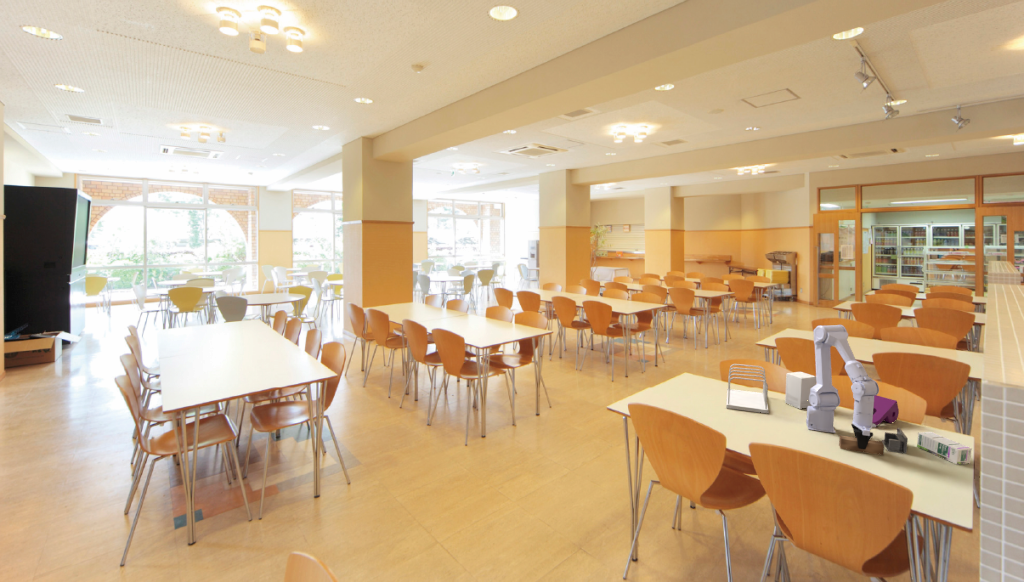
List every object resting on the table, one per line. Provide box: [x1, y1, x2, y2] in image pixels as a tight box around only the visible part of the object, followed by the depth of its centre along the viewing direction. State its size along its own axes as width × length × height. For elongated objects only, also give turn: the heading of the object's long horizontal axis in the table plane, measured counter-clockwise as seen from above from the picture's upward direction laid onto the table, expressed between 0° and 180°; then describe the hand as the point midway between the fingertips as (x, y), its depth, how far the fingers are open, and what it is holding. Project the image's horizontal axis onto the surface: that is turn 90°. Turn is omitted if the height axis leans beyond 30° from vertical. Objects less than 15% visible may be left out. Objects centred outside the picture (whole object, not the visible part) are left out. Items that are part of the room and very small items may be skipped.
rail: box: [838, 435, 885, 456], centre depth 176 cm, size 13×3×4 cm, turn 63°
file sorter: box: [725, 363, 769, 414], centre depth 226 cm, size 25×17×16 cm
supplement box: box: [784, 371, 817, 410], centre depth 220 cm, size 9×9×15 cm
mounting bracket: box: [872, 394, 900, 427], centre depth 202 cm, size 10×8×18 cm
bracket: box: [880, 427, 909, 455], centre depth 177 cm, size 5×10×6 cm, turn 153°
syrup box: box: [916, 431, 973, 465], centre depth 170 cm, size 6×6×14 cm
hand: (860, 446), depth 176 cm, fingers closed on rail, 3 cm apart
